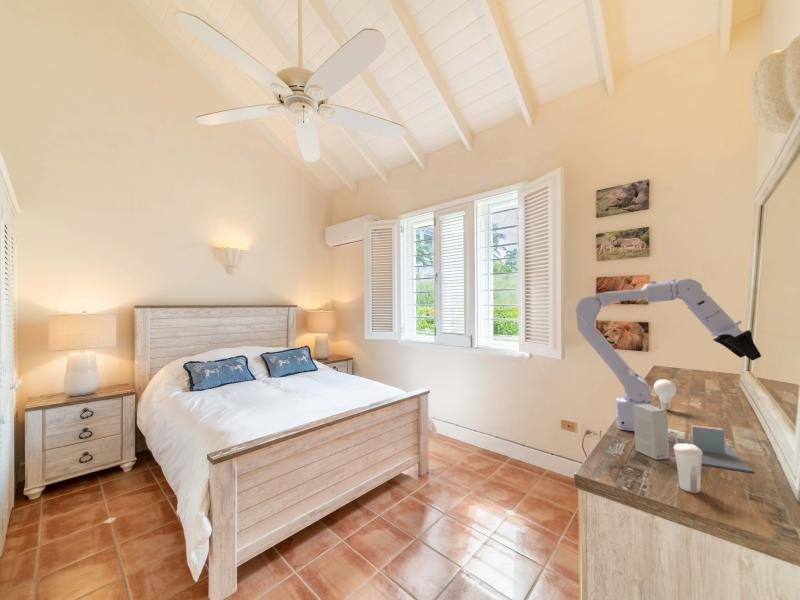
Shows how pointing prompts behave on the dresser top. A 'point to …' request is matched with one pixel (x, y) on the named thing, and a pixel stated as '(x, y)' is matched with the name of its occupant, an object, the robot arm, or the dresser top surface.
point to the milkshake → (688, 466)
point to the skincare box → (651, 431)
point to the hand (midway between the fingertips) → (750, 357)
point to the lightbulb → (665, 392)
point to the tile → (708, 439)
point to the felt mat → (721, 459)
